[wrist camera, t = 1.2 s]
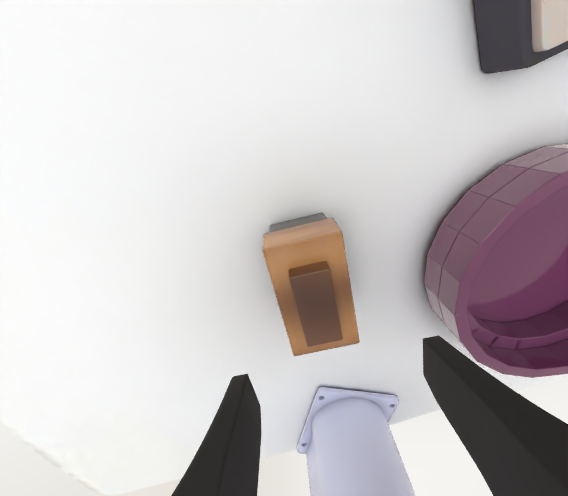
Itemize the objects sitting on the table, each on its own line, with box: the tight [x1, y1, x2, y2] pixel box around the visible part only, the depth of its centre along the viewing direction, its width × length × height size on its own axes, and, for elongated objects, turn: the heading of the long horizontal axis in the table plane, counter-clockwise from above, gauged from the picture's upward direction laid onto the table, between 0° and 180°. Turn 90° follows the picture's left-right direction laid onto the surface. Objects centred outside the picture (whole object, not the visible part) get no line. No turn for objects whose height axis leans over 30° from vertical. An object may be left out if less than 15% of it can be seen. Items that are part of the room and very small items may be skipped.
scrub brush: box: [262, 213, 359, 356], centre depth 18 cm, size 8×4×6 cm, turn 13°
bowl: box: [424, 144, 568, 378], centre depth 19 cm, size 16×16×4 cm
